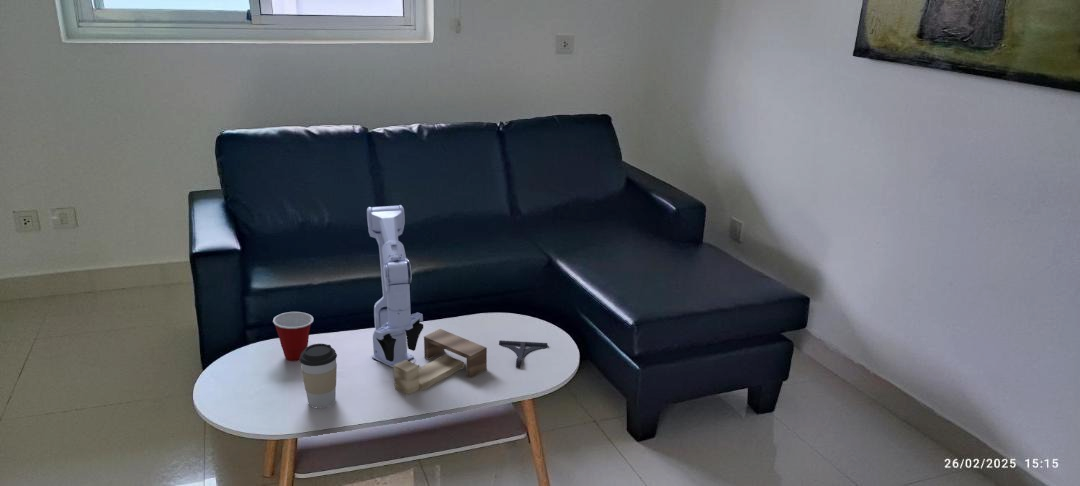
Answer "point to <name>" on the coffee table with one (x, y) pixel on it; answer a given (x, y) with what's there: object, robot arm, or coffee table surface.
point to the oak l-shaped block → (424, 373)
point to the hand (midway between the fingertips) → (400, 354)
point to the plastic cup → (293, 333)
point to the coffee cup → (319, 374)
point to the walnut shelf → (457, 350)
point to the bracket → (522, 348)
